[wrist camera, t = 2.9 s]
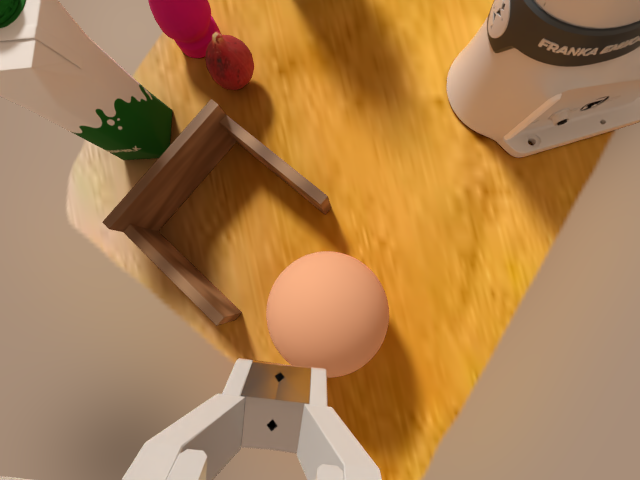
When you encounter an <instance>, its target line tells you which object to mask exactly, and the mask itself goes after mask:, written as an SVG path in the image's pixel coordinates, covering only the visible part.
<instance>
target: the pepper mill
mask: <svg viewBox="0 0 640 480" xmlns="http://www.w3.org/2000/svg"><path fill="white" fill-rule="evenodd" d="M149 5H150V8H151V11H152V13H153V15H154V18H155V20H156V22H157V23H158V25H159V26H160V28H161V30H162V31H163V32H164V33H165V34H166V35H167V36H168V37H170V38H172V39H174V40H175V42H176V43H177V45H178V46H179V47H180V49H181V50H182V51H183V53H184V54H186V55H187V56H189V57H192V58H202V57H205V56H206V50H207V47H208V44H209V43H210V42H211V40H212V34H214V33H215V32H218V33H220V31H219V28H218V26H217V25H216V23H215V21H214V19H213V17H212V16H211V9H210V5H209V2H208V0H149Z"/></svg>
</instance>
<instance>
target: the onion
mask: <svg viewBox="0 0 640 480" xmlns="http://www.w3.org/2000/svg"><path fill="white" fill-rule="evenodd" d="M206 65H207V69H208V71H209V73H210V74H211V76H212V78H213V79H214V81H215V82H216V83H218V84H219V85H220V86H222V87H223V88H225V89H229V90H238V89H241V88H243V87H244V86H245V85H247V84H248V82H249V81H250V79H251V78H252V75H253V70H254V63H253V58H252V54H251V52H250V50H249V49H248V48H247V46H246V45H245V44H244V43H243V42H242V41H241V40H239V39H237V38H235V37H233V36H230V35H222V34H221V33H218V32H215V33H214V34H212V40H211V42H210V43H209V44H208V47H207V50H206Z"/></svg>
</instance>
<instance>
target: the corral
mask: <svg viewBox="0 0 640 480" xmlns="http://www.w3.org/2000/svg"><path fill="white" fill-rule="evenodd" d="M236 142H237V143H238V144H240V145H241V146H242V147H243V148H244V149H246V150H247V151H248V152H249V153H250V154H252V155H253V156H254V157H255V158H257V159H258V160H259V161H260V162H261V163H263V164H264V165H265V166H266V167H268V168H269V169H270V170H271V171H272V172H274V173H275V174H276V175H277V176H279V177H280V178H281V179H282V180H283V181H285V182H286V183H287V184H288V185H290V186H291V187H292V188H293V189H294V190H296V191H297V192H298V193H299V194H301V195H302V196H303V197H304V198H305V199H307V200H308V201H309V202H310V203H311V204H313V205H314V206H315V207H316V208H318V209H319V210H320V211H321V212H322V213H324V214H325V215H326V213H327V212H328V211H329V210H330V209H331V205H330V202H329V199H328V196H327V195H326V194H324V193H323V192H322V191H321V190H319V189H318V188H317V187H316V186H314V185H313V184H312V183H311V182H309V181H308V180H307V179H306V178H304V177H303V176H302V175H301V174H299V173H298V172H297V171H296V170H294V169H293V168H292V167H291V166H289V165H288V164H287V163H286V162H284V161H283V160H282V159H281V158H279V157H278V156H277V155H276V154H274V153H273V152H272V151H271V150H269V149H268V148H267V147H266V146H264V145H263V144H262V143H261V142H260V141H258V140H257V139H256V138H255V137H253V136H252V135H251V134H250V133H248V132H247V131H246V130H245V129H243V128H242V127H241V126H240V125H238V124H237V123H236V122H235V121H233V120H232V119H231V118H230V117H228V116H227V115H226V114H225V113H224V111H223V110H222V109H221V107H220V106H219V105H218V104H217V103H216V102H214V101H213V100H212V99H211V100H210V101H209V102H208V103H207V104H206V105H205V107H204V108H203V109H202V110H201V111H200V112H199V113H198V115H197V116H196V117H195V118H194V119H193V120H192V121H191V122H190V124H189V125H188V126H187V127H186V128H185V129H184V130H183V132H182V133H181V134H180V135H179V136H178V137H177V138H176V139H175V141H174V142H173V143H172V144H171V145H170V146H169V147H168V148H167V150H166V151H165V152H164V153H163V154H162V155H161V156H160V158H159V159H158V160H157V161H156V162H155V163H154V164H153V165H152V167H151V168H150V169H149V170H148V171H147V172H146V173H145V175H144V176H143V177H142V178H141V179H140V180H139V181H138V182H137V184H136V185H135V186H134V187H133V188H132V189H131V190H130V192H129V193H128V194H127V195H126V196H125V197H124V198H123V199H122V201H121V202H120V203H119V204H118V205H117V206H116V207H115V209H114V210H113V211H112V212H111V213H110V214H109V215H108V216H107V218H106V219H105V220H104V221H103V223H104V224H105V225H106V226H107V227H108V228H109V229H111V230H116V231H121V232H124V233H125V234H126V235H127V236H128V237H129V238H130V239H131V240H132V241H133V242H134V243H135V244H136V245H137V246H138V247H139V248H140V249H141V250H142V251H143V252H144V253H145V254H146V255H147V256H148V257H149V258H150V259H151V260H152V261H153V262H154V264H155V265H156V266H157V267H158V268H159V269H160V270H161V271H162V272H163V273H164V274H165V275H166V276H167V277H168V278H169V279H170V280H171V281H172V282H173V283H174V284H175V285H176V286H177V287H178V288H179V289H180V290H181V291H182V292H183V293H184V294H185V295H186V296H187V297H188V298H189V299H190V300H191V301H192V302H193V303H194V304H195V305H196V306H197V307H198V308H199V309H200V310H201V311H202V312H203V313H204V314H205V315H206V316H207V317H208V318H209V319H210V320H211V321H212V322H213V323H214V324H215V325H216V326H217V325H221V324H224V323H227V322H230V321H234V320H236V319H237V318H238V316H239V315H240V314H241V313H242V312H241V311H240V310H239V309H238V308H237V307H236V306H235V305H234V304H233V303H232V302H230V301H229V300H228V299H227V298H226V297H225V296H224V295H223V294H222V293H221V292H220V291H219V290H218V289H217V288H216V287H215V286H214V285H213V284H212V283H211V282H210V281H209V280H208V279H207V278H206V277H205V276H204V275H203V274H202V273H201V272H199V271H198V270H197V269H196V268H195V267H194V266H193V265H192V264H191V263H190V262H189V261H188V260H187V259H186V258H185V257H184V256H183V255H182V254H181V253H180V252H179V251H178V250H177V249H176V248H175V247H174V246H173V245H172V244H171V243H170V242H168V241H167V240H166V239H165V238H164V237H163V236H162V235H161V234H160V233H159V232H158V231H159V230H160V229H161V228H162V226H163V225H164V224H165V223H166V222H167V221H168V220H169V219H170V217H171V216H172V215H173V214H174V213H175V212H176V211H177V209H178V208H179V207H180V206H181V205H182V204H183V203H184V201H185V200H186V199H187V198H188V197H189V196H190V195H191V193H192V192H193V191H194V190H195V189H196V188H197V187H198V185H199V184H200V183H201V182H202V181H203V180H204V179H205V177H206V176H207V175H208V174H209V173H210V172H211V171H212V169H213V168H214V167H215V166H216V165H217V164H218V163H219V161H220V160H221V159H222V158H223V157H224V156H225V155H226V153H227V152H228V151H229V150H230V149H231V148H232V147H233V145H234V144H235V143H236Z"/></svg>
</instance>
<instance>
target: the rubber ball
mask: <svg viewBox="0 0 640 480" xmlns="http://www.w3.org/2000/svg"><path fill="white" fill-rule="evenodd" d="M388 322H389V307H388V301H387V297H386V294H385V291H384V289H383V287H382V285H381V283H380V281H379V280H378V278H377V277H376V276H375V274H374V273H373V272H372V271H371V270H370V269H369V268H368V267H367V266H366V265H365V264H363V263H362V262H360V261H359V260H357V259H355V258H353V257H351V256H349V255H346V254H343V253H339V252H331V251H326V252H316V253H312V254H308V255H306V256H303V257H301V258H299V259H298V260H296V261H294V262H293V263H292V264H290V265H289V266H288V267H287V268H286V269H285V270H284V271H283V272H282V273H281V274H280V275H279V277H278V278H277V280H276V281H275V283H274V285H273V287H272V289H271V292H270V295H269V298H268V303H267V325H268V330H269V333H270V336H271V339H272V341H273V343H274V345H275V347H276V349H277V350H278V351H279V353H280V354H281V355H282V357H283V358H284V359H285V360H286V361H287V362H289V363H290V364H291V365H292V366H300V367H309V368H311V367H313V368H324V369H326V370H327V377H328V378H331V377H340V376H344V375H347V374H350V373H352V372H354V371H356V370H358V369H360V368H361V367H363V366H364V365H365V364H366V363H368V362H369V361H370V360H371V359H372V358H373V357H374V355H375V354H376V353H377V351H378V350H379V349H380V347H381V345H382V343H383V341H384V338H385V336H386V333H387V328H388Z"/></svg>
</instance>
